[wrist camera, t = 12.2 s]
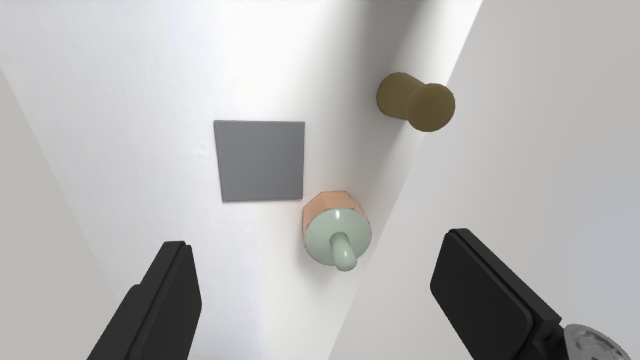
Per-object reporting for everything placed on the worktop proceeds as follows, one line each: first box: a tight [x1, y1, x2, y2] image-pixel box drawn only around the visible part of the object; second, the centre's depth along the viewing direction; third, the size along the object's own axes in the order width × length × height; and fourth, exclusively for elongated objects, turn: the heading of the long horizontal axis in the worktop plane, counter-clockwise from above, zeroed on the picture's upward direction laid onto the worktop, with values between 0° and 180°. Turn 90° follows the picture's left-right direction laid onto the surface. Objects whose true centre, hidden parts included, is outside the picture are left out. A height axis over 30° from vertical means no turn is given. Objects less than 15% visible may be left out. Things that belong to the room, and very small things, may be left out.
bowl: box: [303, 192, 369, 248], centre depth 44 cm, size 10×10×5 cm
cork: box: [376, 72, 455, 132], centre depth 34 cm, size 6×6×11 cm
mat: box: [214, 120, 305, 201], centre depth 40 cm, size 12×12×1 cm
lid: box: [305, 207, 371, 271], centre depth 39 cm, size 10×10×6 cm
